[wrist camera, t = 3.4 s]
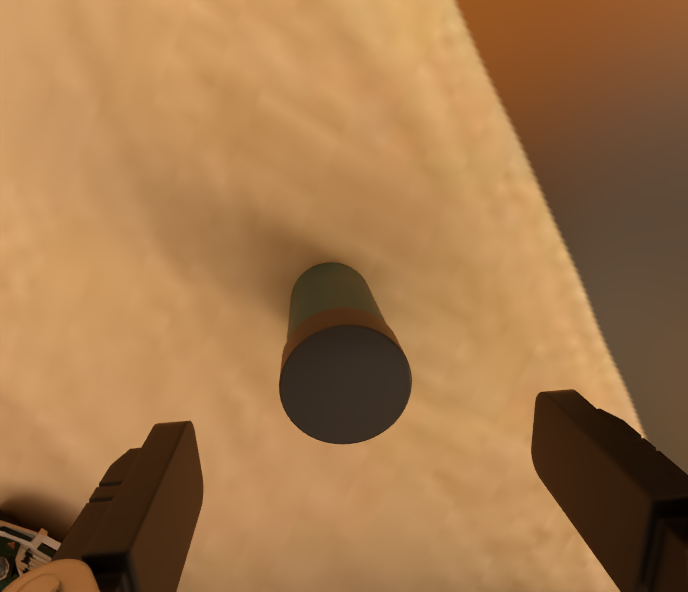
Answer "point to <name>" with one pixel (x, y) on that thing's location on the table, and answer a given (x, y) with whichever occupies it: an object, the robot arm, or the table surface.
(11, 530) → the miniature car
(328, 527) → the table surface
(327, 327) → the glue stick
